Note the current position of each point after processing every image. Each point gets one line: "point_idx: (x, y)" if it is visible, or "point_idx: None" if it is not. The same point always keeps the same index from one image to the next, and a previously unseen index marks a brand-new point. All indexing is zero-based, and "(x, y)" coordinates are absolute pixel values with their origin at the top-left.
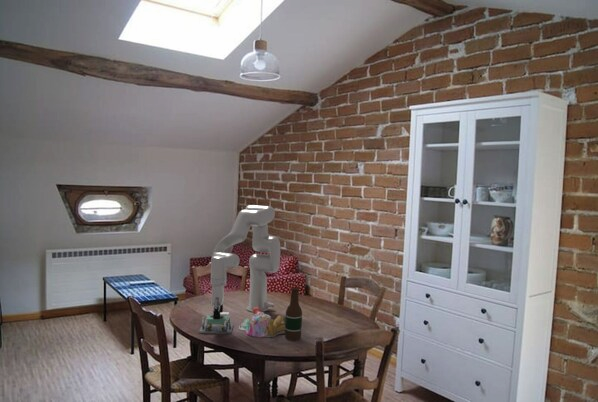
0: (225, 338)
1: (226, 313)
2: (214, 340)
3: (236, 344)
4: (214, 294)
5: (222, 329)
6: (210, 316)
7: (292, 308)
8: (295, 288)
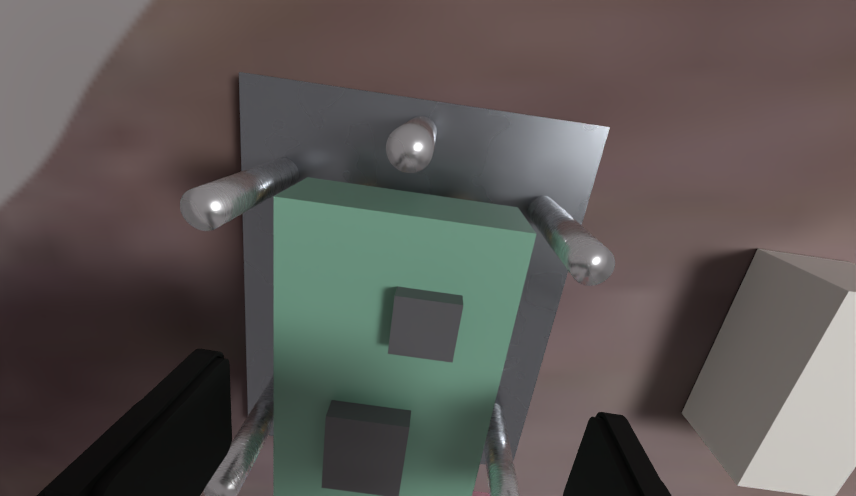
0: (130, 368)
1: (783, 468)
2: (46, 267)
3: (4, 442)
4: None
5: None
6: (394, 294)
7: None
8: None
